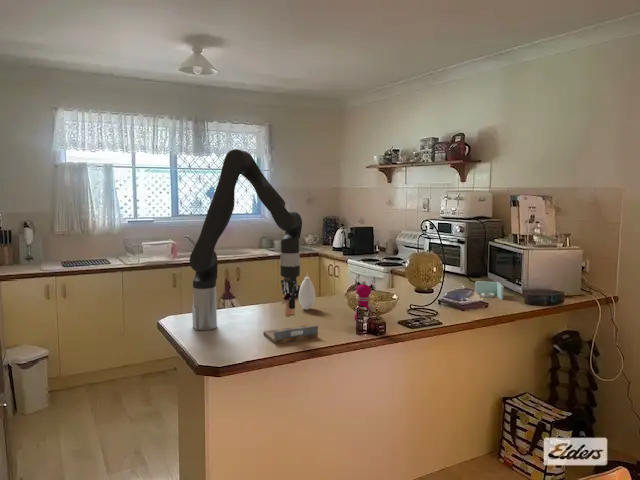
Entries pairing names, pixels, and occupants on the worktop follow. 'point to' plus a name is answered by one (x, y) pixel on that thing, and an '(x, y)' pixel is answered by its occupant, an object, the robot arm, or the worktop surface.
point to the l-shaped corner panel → (489, 289)
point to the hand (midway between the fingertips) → (290, 307)
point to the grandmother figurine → (287, 309)
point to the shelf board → (270, 336)
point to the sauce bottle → (307, 294)
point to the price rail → (295, 332)
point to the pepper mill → (363, 296)
